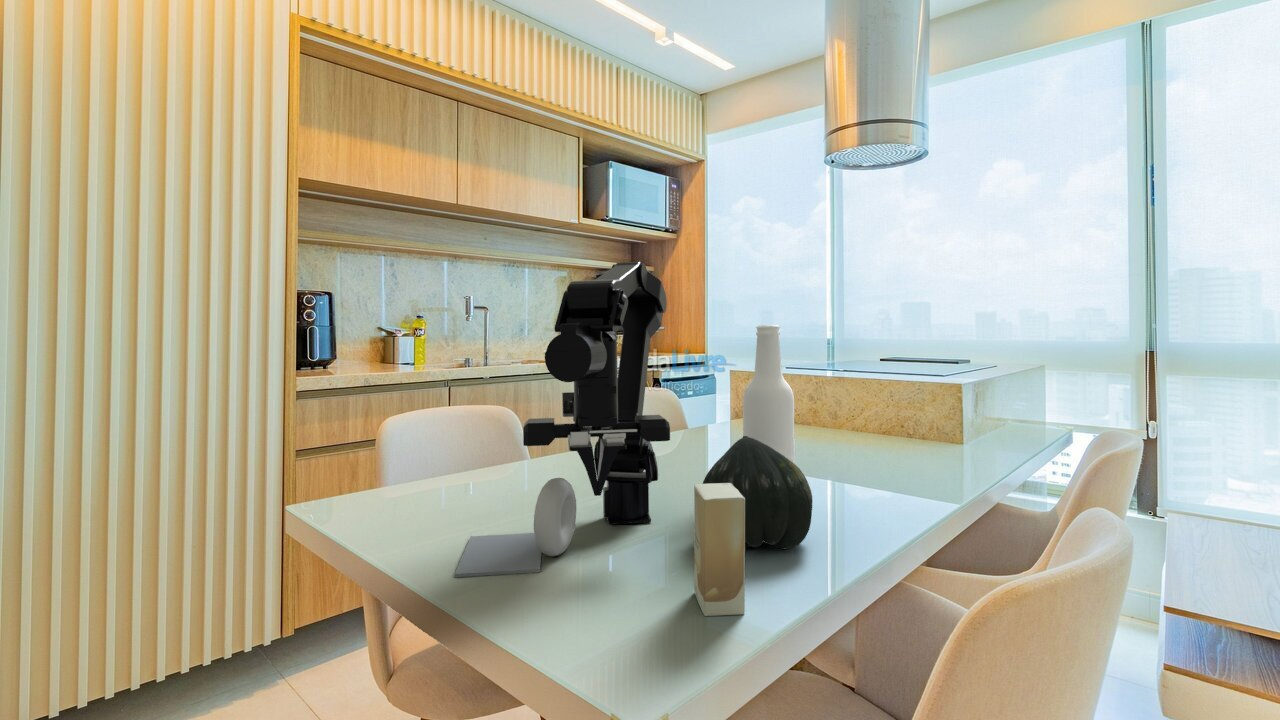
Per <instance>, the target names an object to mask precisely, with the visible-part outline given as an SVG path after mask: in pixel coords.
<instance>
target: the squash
mask: <svg viewBox="0 0 1280 720" xmlns="http://www.w3.org/2000/svg"><path fill="white" fill-rule="evenodd" d="M714 483H732V485H733V486H734V487H735V488H736V489H737V490H738V491H739V492H740V493H741V494H742V496H743V497H744V498H745V549H746V548H749V547H751V548H759V547H760V546H761V545H762V544H763V542H764V543H765V544H766V545H771V546H773V547H774V548H778V549H781V550H787V549H792V548H795V547H797V546H798V545H801V544H802V542H803V541H804V540H805V538H806V537H807V536H808V534H809V531H810V528H811V523H812V517H813V514H812V513H813V493H812V490H811V488H810V485H809V482H808V480H807V477H806V476H805V474H804V473H803V471H802V470H801V469H800V468H799V466H798V465H796V464H795V462H794V463H793V462H792V461H790V460H789V459H787V458H786V457H785V456H783V455H782V454H780V453H779V452H777V451H775V450H774V449H772V448H771V447H769V446H768V445H766V444H764V443H762V442H760V441H758V440H756V439H753V438H750V437H748V436H743V435H742V437H741V438H739V439H738V440H736V441H735V442H734V444H732V445H731V446H730V447H729V448H728V450H726V452H725V453H724V454H723V455H722V456H721V457H720V458H719V459H718V460H717V461H716V462H715V463H714V464H713V466H712V467H711V468H710V469H709V471H708V472H707V473H706V475H705V478H704V479H703V482H702V484H714Z"/></svg>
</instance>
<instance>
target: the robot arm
mask: <svg viewBox="0 0 1280 720" xmlns="http://www.w3.org/2000/svg"><path fill="white" fill-rule="evenodd" d="M666 294H667V293H666V291H665V288H664V285H663V282H662V280H660V279H659V278H658V277H656V276H655V275H654V274H652V273H650V271H648V269H647V266H646V264H645V263H643V262H641V261H626V262H624V261H623V262H617V263H616V264H612V266H611V268H610V269H609V270H607V271H605V273H603V274H602V275H600V276H598V277H596V278H595V279H586V280H585V279H584V280H574V281H572V280H571V281H570V283H568V285H567V287H566V290H565V291H564V292H563V295H562V298H561V302H560V306H559V310H558V313H557V317H556V321H555V324H554V332H555V333H560V334H557V335H556V336H555V337H553V338H552V339H551V341H549V343H548V345H547V346H546V347H547V348H546V349H545V352H544V362H545V363H544V364H545V367H546V369H547V370H548V372H549V373H550V375H551V376H552V377H554V379H556V380H558V381H560V382H563V383H573V391H570V392H562V393H561V394H562V397H561V398H562V399H561V401H562V417H563V418H568V417H569V418H570V417H571V418H572V419H573V423H555V417H544V418H528V419H527V420H526V422H525V423H524V425H523V429H522V434H523V435H522V436H523V437H522V439H523V447H524V446H525V447H536V446H537V447H538V446H549V445H551V443H552V442H554V440H555V439H565V438H567V442H568V444H567V445H568V450H569V452H577V454H578V456H579V458H580V460H581V462H582V464H583V466H584V468H585V471H586V473H587V476H588V480H589V483H590V487H591V489H592V491H593V495H594V496H596V497H597V496H600V497H601V495H602V501H603V502H602V504H603V505H602V507H603V509H602V511H603V516H604V517H605V519H607V520H606V521H607V523H608V524H609V525H621V524H622V525H625V524H626V525H627V524H641V523H645V524H646V523H651V522H652V518H651V516H650V509H649V508H650V506H649V505H650V499H649V497H650V492H649V490H650V489H649V485H650V484H651V483H652V482H656V481H658V480H659V469H658V461H657V457H656V453H655V451H654V448H653V446H652V442H668V441H671V426H670V422H669V421H668V420H667V419H666V418H665V417H663V416H662V415H660V414H645V415H644V414H643V413H644V406H645V404H644V403H645V395H646V394H645V392H646V384H647V375H648V363H649V356H650V346H651V339H652V337H653V336H654V335H655V334H656V333H657V332H658V330H659V329H661V326H662V323H663V315H664V314H665V313H666V311H667V305H668V304H667V302H668V301H667V295H666ZM620 327H621V328H622V329H623V331H622V340H621V348H620V354H619V356H620V357H619V364H618V335H617V333H616V332H618V331H619V329H620ZM596 437H598V440H597V441H596V442H595V445H594V448H593V445H592V442H591V438H596ZM605 484H606V486H605Z"/></svg>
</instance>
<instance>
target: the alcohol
mask: <svg viewBox="0 0 1280 720" xmlns="http://www.w3.org/2000/svg"><path fill="white" fill-rule="evenodd" d="M755 328H756V331H757V332H756V348H755V351H756V352H755V362H754V363H755V364H754V365H755V366H754V374H753V377H752V379H751V380H750V382H749V383H748V384H747V385H746V387H744V391H743V396H742V437H743V436H748V437H750V438H753V439H756V440H758V441H760V442H762V443H764V444H766V445H768V446H769V447H771V448H772V449H774V450H775V451H777V452H779V453H780V454H782V455H783V456H785V457H786V458H787V459H789V460H790V461H792V462H793V463H794V464H795V397H794V392H793V389H792V387H791V386H790V385H789V383H788V381H786V379H785V378H784V374H783V369H782V358H781V357H782V356H781V345H780V336H781V335H780V334H781V333H780V328H781V327H780V325H778V324H760V325H757V326H756V327H755Z"/></svg>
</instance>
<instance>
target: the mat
mask: <svg viewBox="0 0 1280 720" xmlns="http://www.w3.org/2000/svg"><path fill="white" fill-rule="evenodd" d="M541 561H542V552H541V550H540V549H539V547H538V545H537V543H536V539H535V534H534V532H525V533H508V534H506V533H505V534H493V535H492V534H491V535H489V534H488V535H474V536H473V535H472V536H470V538H469V541H468V542H467V544H466V547H465V549H464V552H463V553H462V557H461V559H460V561H459V563H458V566H457V568H456V570H455V572H454V578H464V577H465V578H466V577H467V578H469V577H482V576H483V577H484V576H497V575H498V576H499V575H511V574H512V575H516V574H528V573H531V574H532V573H540V572H541V566H542V565H541V563H542V562H541Z"/></svg>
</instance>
